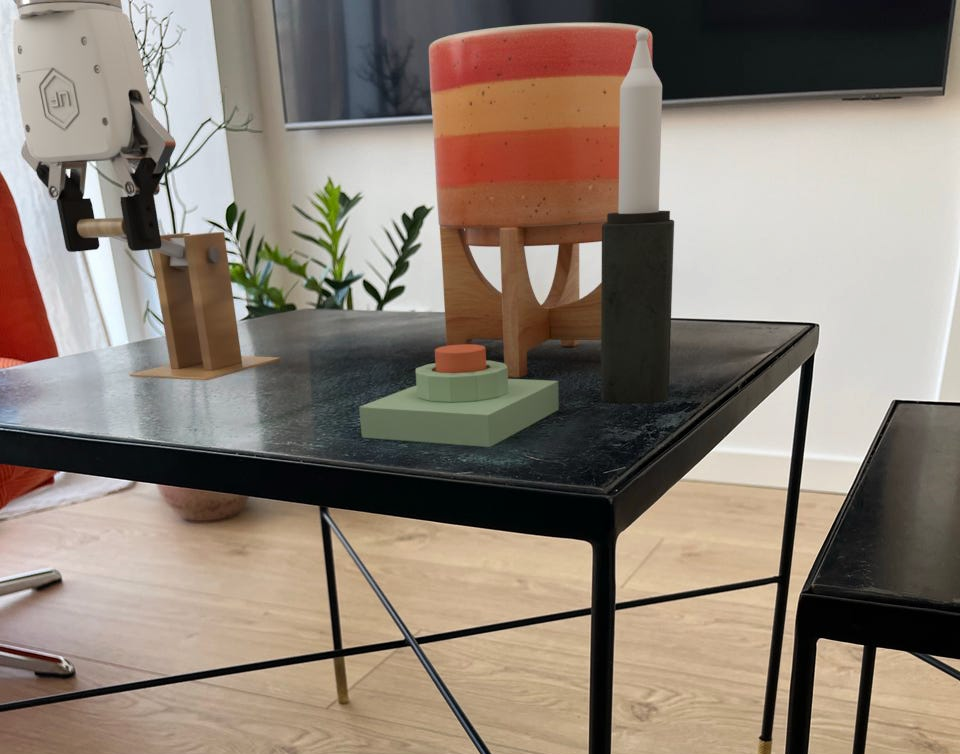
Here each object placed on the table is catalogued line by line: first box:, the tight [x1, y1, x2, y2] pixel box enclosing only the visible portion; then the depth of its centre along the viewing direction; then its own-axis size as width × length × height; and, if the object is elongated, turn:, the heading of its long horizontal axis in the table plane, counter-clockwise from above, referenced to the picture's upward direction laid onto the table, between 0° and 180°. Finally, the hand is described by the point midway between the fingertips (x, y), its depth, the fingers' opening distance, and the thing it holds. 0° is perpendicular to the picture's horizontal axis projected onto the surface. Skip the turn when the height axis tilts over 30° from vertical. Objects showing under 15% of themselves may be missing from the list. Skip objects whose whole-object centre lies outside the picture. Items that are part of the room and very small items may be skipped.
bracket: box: [129, 231, 281, 381], centre depth 94 cm, size 11×9×13 cm
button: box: [434, 343, 487, 373], centre depth 72 cm, size 4×4×2 cm
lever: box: [77, 217, 189, 272], centre depth 88 cm, size 12×5×2 cm, turn 154°
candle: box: [600, 29, 675, 404], centre depth 75 cm, size 5×5×25 cm
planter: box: [428, 22, 653, 379], centre depth 92 cm, size 20×20×27 cm
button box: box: [358, 360, 560, 448], centre depth 73 cm, size 12×10×4 cm
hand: (113, 247), depth 84 cm, fingers open, 6 cm apart
